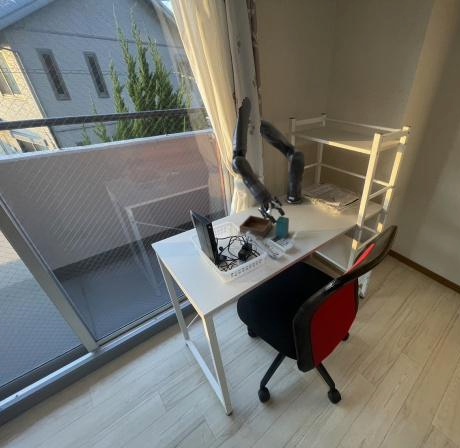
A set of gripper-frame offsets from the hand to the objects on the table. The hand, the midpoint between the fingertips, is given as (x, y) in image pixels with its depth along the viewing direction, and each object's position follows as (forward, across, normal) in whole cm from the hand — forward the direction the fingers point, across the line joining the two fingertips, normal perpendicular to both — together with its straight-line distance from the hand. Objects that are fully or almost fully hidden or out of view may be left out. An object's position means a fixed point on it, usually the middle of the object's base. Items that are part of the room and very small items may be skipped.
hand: (279, 219), depth 122 cm
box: (-2, +3, -16) cm, 16 cm away
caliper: (+6, +15, -8) cm, 18 cm away
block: (+8, 0, -5) cm, 10 cm away
